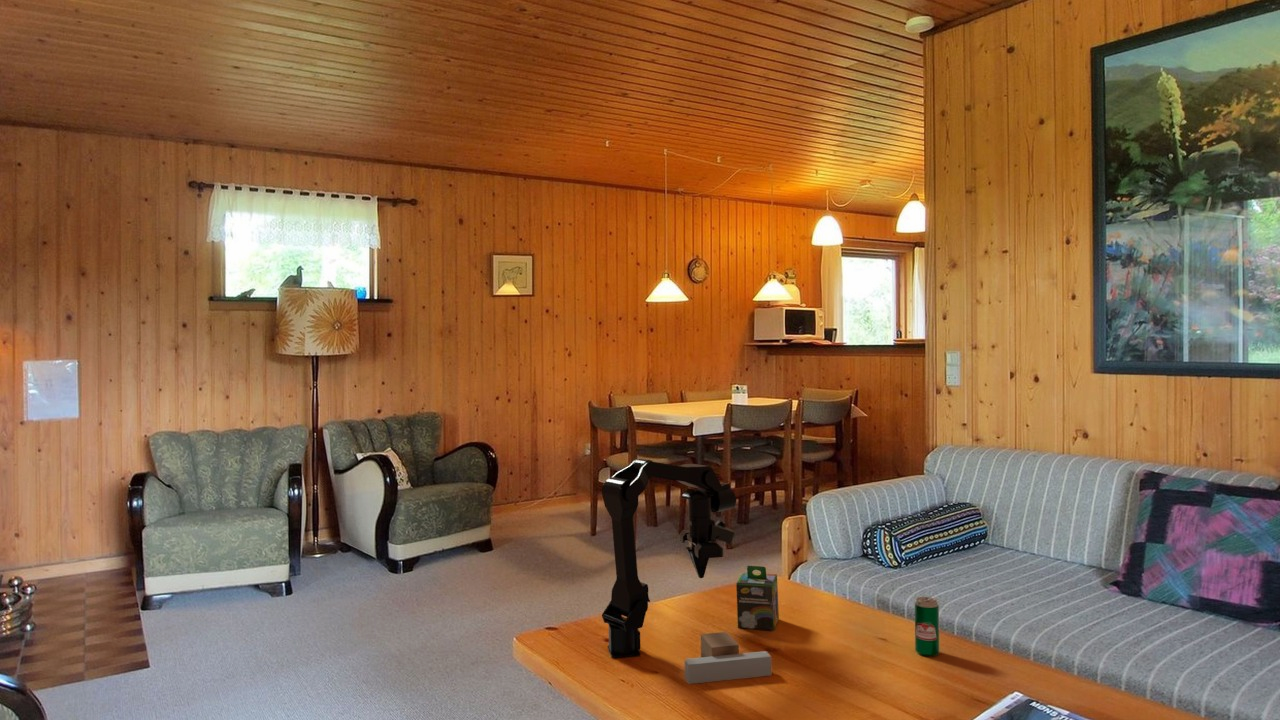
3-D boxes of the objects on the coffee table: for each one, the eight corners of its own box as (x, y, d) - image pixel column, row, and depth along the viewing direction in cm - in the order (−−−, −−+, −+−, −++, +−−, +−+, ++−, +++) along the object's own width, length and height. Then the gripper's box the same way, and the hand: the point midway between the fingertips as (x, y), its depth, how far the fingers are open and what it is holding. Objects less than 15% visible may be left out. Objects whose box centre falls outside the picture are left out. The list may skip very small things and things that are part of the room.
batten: (688, 684, 160) (688, 664, 160) (684, 678, 163) (684, 659, 163) (771, 675, 164) (771, 656, 164) (766, 669, 167) (766, 651, 167)
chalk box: (779, 619, 198) (778, 561, 198) (774, 632, 189) (773, 571, 189) (743, 616, 201) (742, 558, 201) (736, 628, 192) (735, 568, 192)
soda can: (913, 655, 173) (912, 601, 173) (917, 647, 178) (916, 594, 178) (937, 659, 171) (937, 604, 171) (940, 651, 176) (940, 597, 175)
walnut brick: (712, 675, 165) (711, 647, 165) (701, 661, 172) (700, 634, 172) (739, 672, 166) (738, 644, 166) (726, 658, 174) (726, 631, 174)
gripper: (743, 521, 186) (744, 586, 186) (719, 506, 205) (720, 565, 205) (698, 524, 184) (699, 589, 184) (678, 508, 202) (679, 568, 203)
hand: (701, 577), depth 194 cm, fingers closed
